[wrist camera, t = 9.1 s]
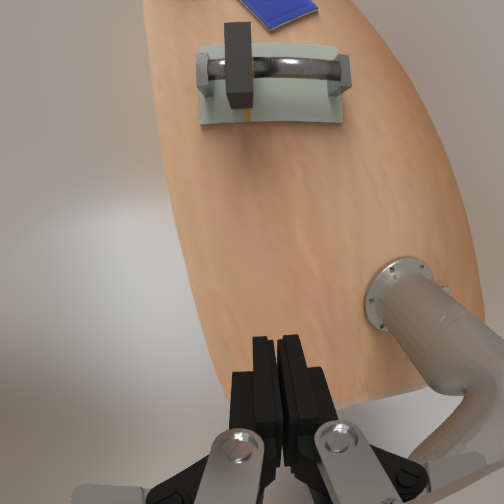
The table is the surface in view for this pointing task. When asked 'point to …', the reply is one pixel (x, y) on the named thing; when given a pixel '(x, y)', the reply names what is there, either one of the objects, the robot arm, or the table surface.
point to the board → (275, 90)
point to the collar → (238, 65)
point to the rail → (279, 71)
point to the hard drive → (278, 11)
